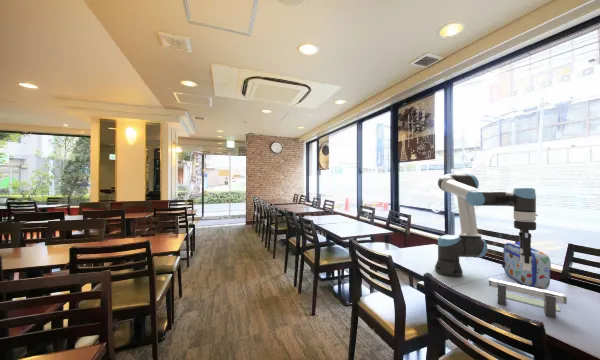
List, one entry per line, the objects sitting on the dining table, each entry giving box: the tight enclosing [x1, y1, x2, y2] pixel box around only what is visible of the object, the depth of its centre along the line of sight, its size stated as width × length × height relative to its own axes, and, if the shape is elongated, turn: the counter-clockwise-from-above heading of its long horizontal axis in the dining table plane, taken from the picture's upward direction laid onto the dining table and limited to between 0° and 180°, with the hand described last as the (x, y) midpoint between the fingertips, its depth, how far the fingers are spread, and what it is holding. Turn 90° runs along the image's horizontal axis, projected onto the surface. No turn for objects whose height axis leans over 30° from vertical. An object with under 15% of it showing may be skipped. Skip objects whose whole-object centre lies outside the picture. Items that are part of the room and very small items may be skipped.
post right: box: [543, 289, 557, 320], centre depth 103 cm, size 3×6×10 cm, turn 139°
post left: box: [497, 279, 507, 307], centre depth 114 cm, size 3×6×10 cm, turn 139°
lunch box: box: [501, 241, 552, 290], centre depth 137 cm, size 28×10×22 cm, turn 168°
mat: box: [496, 289, 561, 312], centre depth 115 cm, size 22×7×1 cm, turn 49°
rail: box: [488, 278, 568, 305], centre depth 108 cm, size 26×3×3 cm, turn 49°
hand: (525, 266), depth 109 cm, fingers open, 13 cm apart
